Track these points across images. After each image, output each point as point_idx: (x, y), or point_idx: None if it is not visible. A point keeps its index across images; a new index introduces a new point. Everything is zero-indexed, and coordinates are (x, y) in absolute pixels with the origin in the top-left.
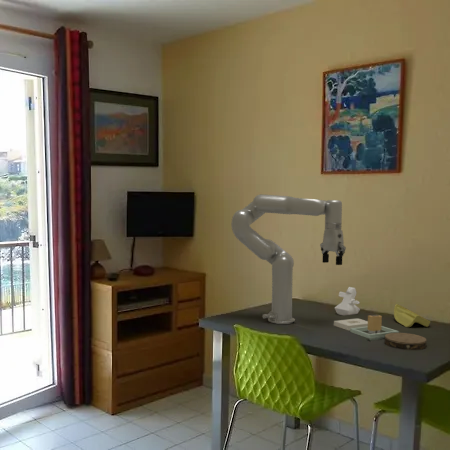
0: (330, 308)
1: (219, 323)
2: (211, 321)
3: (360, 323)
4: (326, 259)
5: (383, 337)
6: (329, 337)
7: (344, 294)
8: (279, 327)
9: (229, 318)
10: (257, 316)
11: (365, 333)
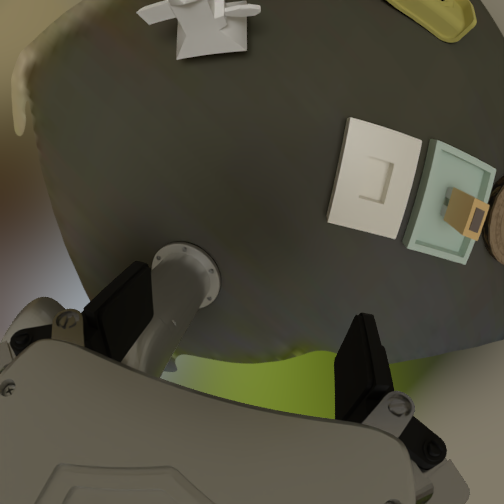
0: (129, 32)
1: None
2: None
3: (403, 180)
4: (137, 305)
5: None
6: (379, 304)
7: (167, 9)
8: (236, 322)
9: None
10: None
11: (453, 260)
